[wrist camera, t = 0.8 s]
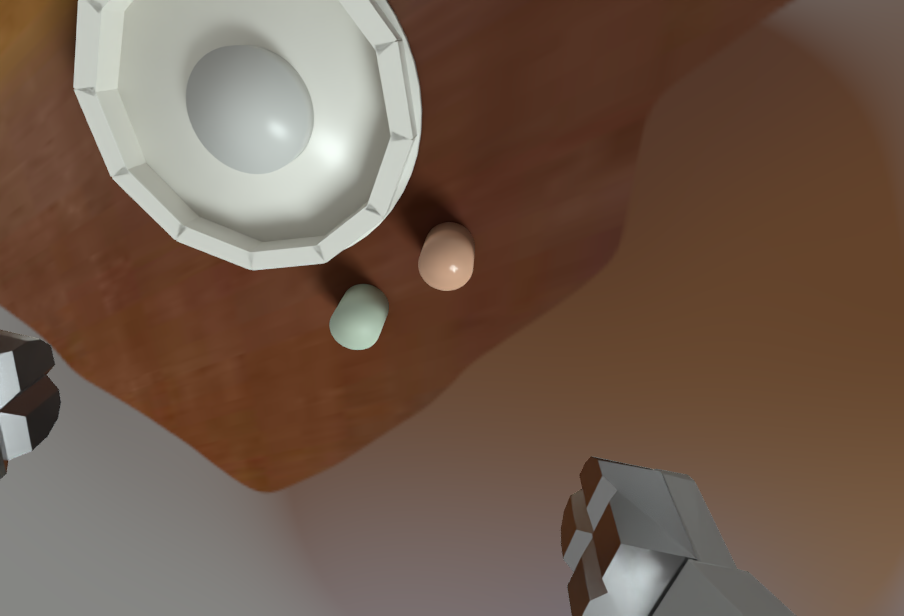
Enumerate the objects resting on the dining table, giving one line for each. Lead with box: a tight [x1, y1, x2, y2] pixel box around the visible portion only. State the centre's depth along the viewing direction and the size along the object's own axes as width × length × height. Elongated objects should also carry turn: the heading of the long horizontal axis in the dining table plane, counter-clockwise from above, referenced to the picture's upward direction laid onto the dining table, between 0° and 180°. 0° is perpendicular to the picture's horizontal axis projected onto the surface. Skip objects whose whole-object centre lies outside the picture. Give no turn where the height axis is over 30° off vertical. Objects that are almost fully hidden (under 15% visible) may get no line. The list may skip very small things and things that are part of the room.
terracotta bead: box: [418, 222, 475, 291], centre depth 44 cm, size 4×4×4 cm
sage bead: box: [329, 284, 389, 350], centre depth 47 cm, size 4×4×4 cm
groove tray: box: [73, 0, 422, 270], centre depth 40 cm, size 26×26×4 cm
